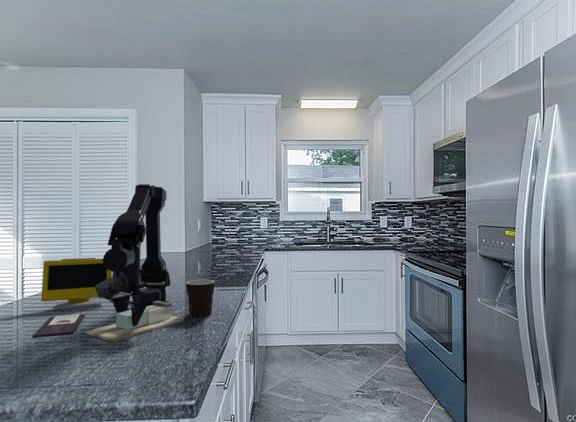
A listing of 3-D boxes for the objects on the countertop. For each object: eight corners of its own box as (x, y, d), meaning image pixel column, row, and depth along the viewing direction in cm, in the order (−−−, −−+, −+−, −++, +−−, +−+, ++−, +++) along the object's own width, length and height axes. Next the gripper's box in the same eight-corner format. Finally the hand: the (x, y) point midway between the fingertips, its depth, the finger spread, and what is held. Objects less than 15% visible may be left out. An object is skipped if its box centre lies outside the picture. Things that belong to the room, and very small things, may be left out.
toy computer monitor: (41, 311, 119) (41, 261, 119) (45, 306, 126) (45, 258, 126) (111, 305, 127) (111, 258, 127) (111, 300, 134) (111, 256, 134)
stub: (115, 326, 101) (116, 313, 101) (135, 321, 106) (135, 308, 106) (127, 329, 98) (127, 316, 98) (147, 324, 103) (147, 311, 104)
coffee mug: (207, 319, 111) (208, 285, 111) (180, 317, 113) (180, 283, 113) (222, 309, 123) (222, 278, 123) (197, 308, 124) (197, 277, 124)
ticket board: (85, 333, 98) (86, 314, 98) (155, 314, 116) (155, 298, 116) (114, 342, 91) (114, 321, 91) (183, 320, 110) (183, 303, 110)
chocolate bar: (32, 335, 94) (50, 316, 111) (32, 339, 94) (50, 320, 111) (73, 331, 98) (85, 314, 114) (73, 335, 98) (85, 317, 114)
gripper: (79, 266, 99) (78, 326, 99) (124, 273, 90) (123, 339, 90) (117, 262, 109) (117, 316, 109) (161, 267, 99) (161, 327, 99)
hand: (128, 324), depth 101 cm, fingers closed on stub, 5 cm apart
